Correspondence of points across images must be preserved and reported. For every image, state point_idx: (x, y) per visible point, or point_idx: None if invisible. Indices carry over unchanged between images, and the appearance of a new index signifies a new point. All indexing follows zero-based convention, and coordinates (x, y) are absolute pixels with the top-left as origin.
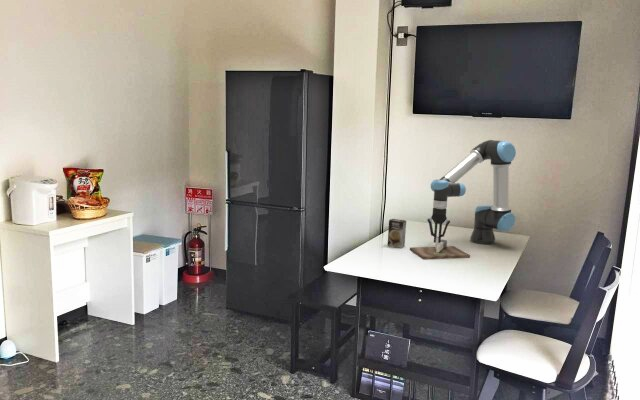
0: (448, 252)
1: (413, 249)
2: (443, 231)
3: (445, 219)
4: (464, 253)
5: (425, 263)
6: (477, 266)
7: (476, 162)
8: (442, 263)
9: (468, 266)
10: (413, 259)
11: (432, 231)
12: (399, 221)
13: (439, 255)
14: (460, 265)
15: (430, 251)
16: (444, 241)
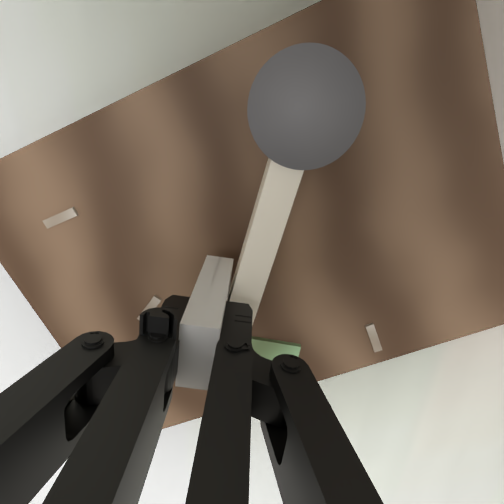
0: (336, 276)
1: (2, 254)
2: (287, 502)
3: None
4: (492, 274)
5: (155, 492)
6: (487, 488)
7: None
8: (262, 474)
9: (425, 497)
10: None
11: (68, 456)
12: None
13: None
14: (376, 489)
15: (166, 285)
16: (319, 163)
